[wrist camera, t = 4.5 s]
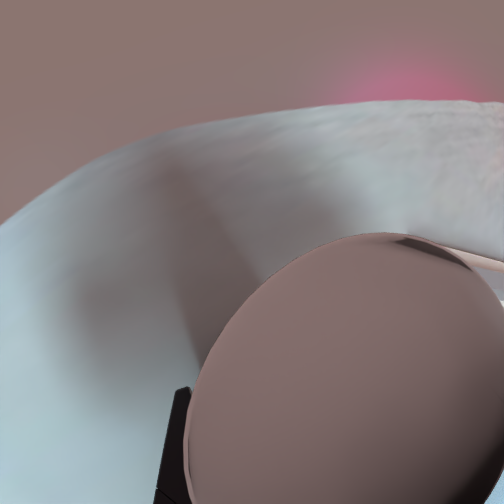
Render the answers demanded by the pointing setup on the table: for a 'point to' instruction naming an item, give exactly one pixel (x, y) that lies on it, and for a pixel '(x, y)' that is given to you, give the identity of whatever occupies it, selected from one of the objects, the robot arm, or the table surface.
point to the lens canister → (354, 383)
